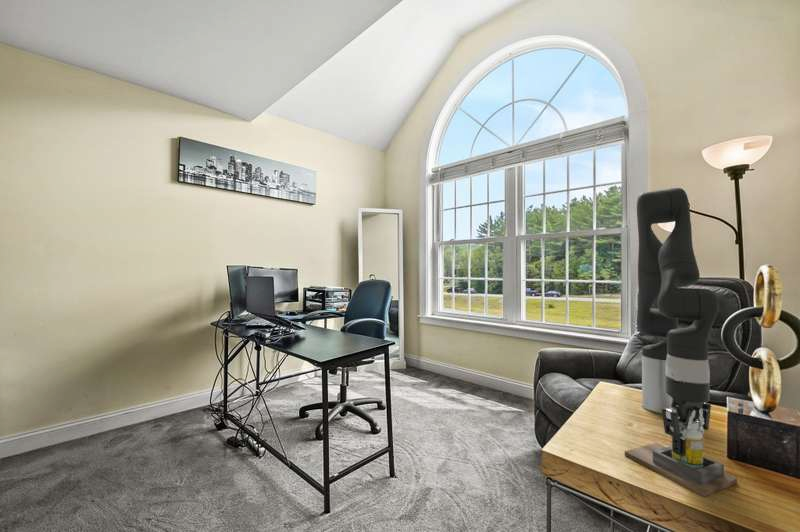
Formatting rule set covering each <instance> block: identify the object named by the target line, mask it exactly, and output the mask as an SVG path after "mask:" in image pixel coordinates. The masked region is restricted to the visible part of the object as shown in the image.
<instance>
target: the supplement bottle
mask: <svg viewBox="0 0 800 532" xmlns="http://www.w3.org/2000/svg"><path fill="white" fill-rule="evenodd" d="M679 423H680V424H685V423H683V422H681V421H679ZM698 428H699V423H698V421H693V422H692V424H691V429H690V430H687V433H686V438H685V440H686V455H685V456H680V455H678V454H675V453H674V452H673V450H672V458H673V459H675V460H677V461H679V462H681V463H683V464H686V465H688V466H690V467H692V468H694V469H700V468H702V467H703V456H704V436H703V435H704V434H703V435H702V433H701V432H700V431H699V430H697V429H698ZM681 429H682V428H681V427H680V433H681Z"/></svg>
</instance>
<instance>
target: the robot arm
mask: <svg viewBox="0 0 800 532" xmlns="http://www.w3.org/2000/svg"><path fill="white" fill-rule="evenodd" d="M689 201H690V200H689V197H688V194H687V192H686V190H684V189H683V188H682V187H674V188H673V187H671V188H664V189H658V190H651V191H644V192H641V193H640V194H639V195H638V197H637V200H636V218H637V221H636V222H637V233H638V258H637V283H638V286H637V287H638V301H637V312H636V327H637V331H638V332H639V333H640V334H641V335H645V336H650V337H659V338H660V337H661V338H664V339H663V340H661V341H660V342H657V343H654V344H653V343H652V344H647V345H643V347H642V349H641V406H642V408H644V409H646V410H647V411H650V412H653V413H658V414H661V415H662V420H663V421H662V422H663V428H664V433H665V434H666V435H669V436H671V446H672V450H673V452H674V453H675V454H678V455H680V456H685V455H686V440H685V438H686V433H687V430H690V429H691V424H692V422H693V421H698V423H699V428H698V429H697V430H699V431H700V432H701V433H702V435H704V434H705V431H708V430H709V427H710V418H711V410H712V409H711V408H712V405H711V403H708V402H709V401H710V398H711V397H710V396H711V395H710V394H711V393H710V387H711V386H710V381H711V380H710V379H711V378H710V374H711V372H710V371H711V370H710V365H709V338H710V336H711V335H710V334H711V331H712V328H713V325H714V323H715V320H716V317H717V315H718V313H719V310H720V300H719V298H718V296H717V295H716V293H715V292H713V291H712V290H711V289H708V288H686V287H689V286H692V285H694V284H696V283H697V282H698V281H699V280H700V271H699V266H698V262H697V259H696V256H695V252H694V247H693V234H692V221H691V209H690V202H689ZM673 222H674V227H673V229H672V231H671V232H670V234H669V235H668V237H667V238H666V239H665V240H664V242H663V243H662V242H661V241H660V239H659V238H658V236H657V235H656V234H655V232H654V230H653V228H652V225H655V224H656V225H657V224H665V223H673ZM656 300H657V302H656ZM655 302H656V304H657V305H656V306H657V308H654V307H653V308H652V306H653V304H654V303H655ZM679 319H680V320H694V321H693V322H692V323H691V325H689V326H688V327H683V328H682V327H681V328H679ZM679 421H681V422H683V423H685V424H680V423H679ZM680 427H681V428H682V429H681V433H680Z"/></svg>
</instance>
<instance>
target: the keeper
mask: <svg viewBox="0 0 800 532" xmlns="http://www.w3.org/2000/svg"><path fill="white" fill-rule="evenodd" d="M624 456H625V457H627V456H628V457H627V458H629V459H631V460H633V461H634V462H637V463H638V462H639V464H640V465H643V466H645V467H647V468H648V469H650V470H652V471H654V472H656V473H658V474H660V475H662V476H663V475H664V477H665V476H666V478H667V477H668V479H669V478H670V479H669V480H671V481H673V482H675V483H677V484H678V485H681V486H683V487H685V488H686V489H689V490H691V491H693V492H694V493H696V494H698V495H700V496H702V497H704V498H705V497H706V496H709V495H711V494H715V493H717V492H719V491H723V490H724V489H726V488H729V487H731V486H733V485H736V484H738V478H737V477H734V476H733V475H730V474H728V473H725V464H724V463H721V462H719V461H717V460H714V459H712V458H710V457H708V456H705V455H703V467H702V468H700V469H694V468H692V467H690V466H688V465H686V464H683V463H681V462H679V461H677V460H675V459H673V458H672V445H669V446H664V445H662V444H660V443H658V442H653V443H649V444H646V445H642V446H639V447H636V448H631V449H628V450H625V451H624Z"/></svg>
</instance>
